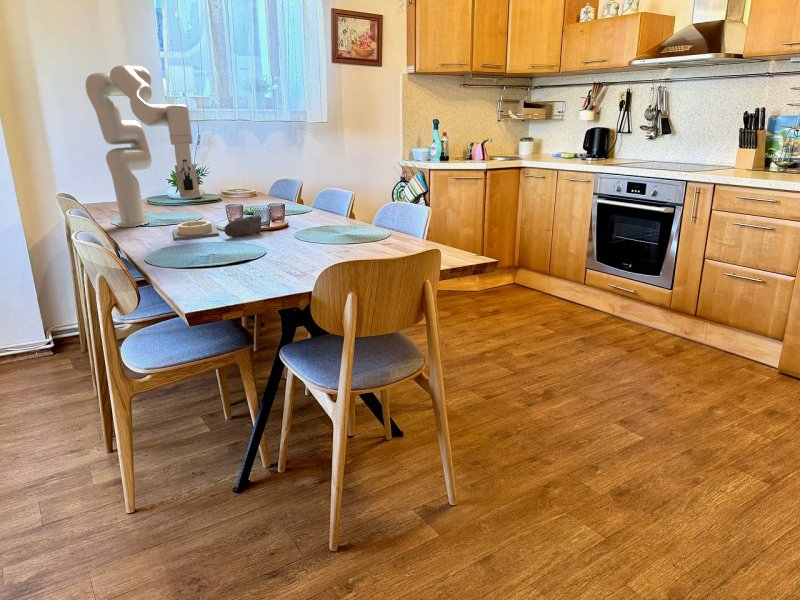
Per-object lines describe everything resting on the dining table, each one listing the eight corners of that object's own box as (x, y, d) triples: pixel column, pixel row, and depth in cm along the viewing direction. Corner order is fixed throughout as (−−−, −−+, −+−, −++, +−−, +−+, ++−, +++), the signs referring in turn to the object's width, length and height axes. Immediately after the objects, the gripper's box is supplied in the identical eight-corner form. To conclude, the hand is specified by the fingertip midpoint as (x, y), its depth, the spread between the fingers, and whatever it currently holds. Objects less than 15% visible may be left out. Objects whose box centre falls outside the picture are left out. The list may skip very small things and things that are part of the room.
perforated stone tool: (227, 240, 207) (224, 221, 205) (223, 237, 211) (220, 219, 209) (266, 234, 214) (264, 216, 212) (261, 232, 219) (260, 214, 216)
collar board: (173, 232, 222) (171, 222, 221) (215, 227, 228) (213, 218, 227) (174, 240, 208) (172, 229, 207) (219, 235, 214) (217, 225, 213)
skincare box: (200, 196, 214) (195, 163, 210) (192, 198, 210) (188, 165, 206) (186, 196, 216) (182, 163, 212) (179, 197, 212) (174, 165, 208)
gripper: (170, 139, 213) (177, 186, 219) (171, 141, 197) (178, 192, 203) (190, 138, 215) (197, 185, 221) (193, 140, 200) (200, 191, 206)
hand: (188, 188), depth 212 cm, fingers closed on skincare box, 7 cm apart
